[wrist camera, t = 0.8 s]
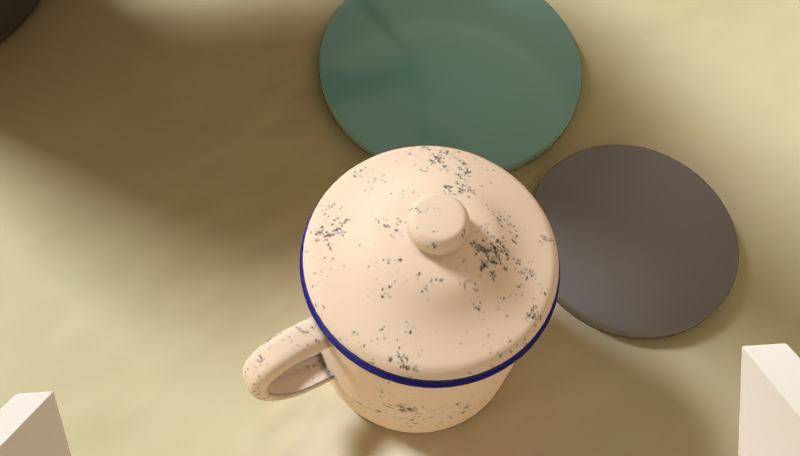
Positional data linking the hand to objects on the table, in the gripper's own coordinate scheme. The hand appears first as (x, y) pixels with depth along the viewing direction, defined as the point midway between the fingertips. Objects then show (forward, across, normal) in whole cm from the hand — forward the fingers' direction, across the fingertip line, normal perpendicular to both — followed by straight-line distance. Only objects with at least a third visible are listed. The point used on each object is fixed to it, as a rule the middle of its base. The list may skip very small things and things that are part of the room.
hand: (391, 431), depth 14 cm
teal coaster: (+29, +2, +4) cm, 29 cm away
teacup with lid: (+18, -2, -7) cm, 19 cm away
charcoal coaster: (+23, +9, -5) cm, 25 cm away
